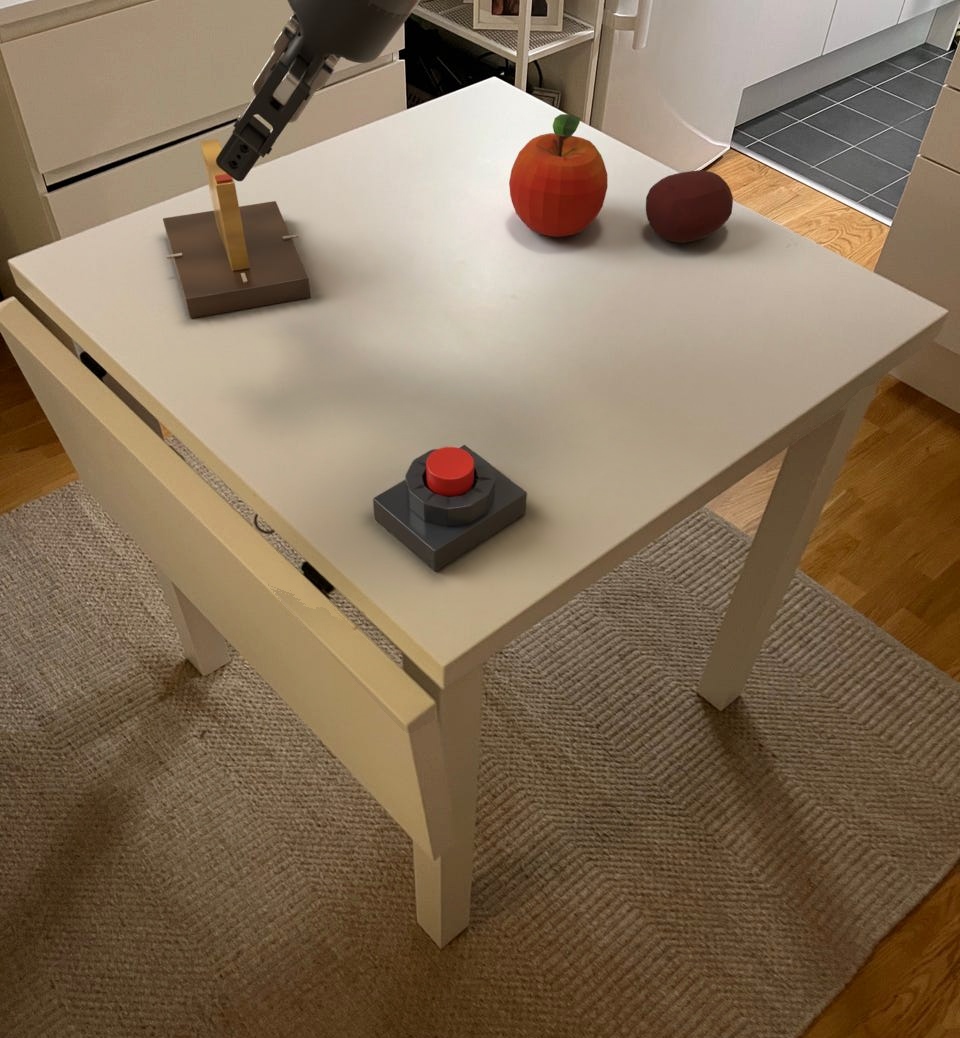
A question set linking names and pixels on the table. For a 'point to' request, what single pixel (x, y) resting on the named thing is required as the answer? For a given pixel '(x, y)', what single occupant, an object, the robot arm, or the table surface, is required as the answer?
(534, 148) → the fruit
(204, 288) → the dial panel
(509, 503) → the button block
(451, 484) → the button
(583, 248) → the table surface
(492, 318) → the table surface
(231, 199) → the wooden block
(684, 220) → the potato
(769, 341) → the table surface
